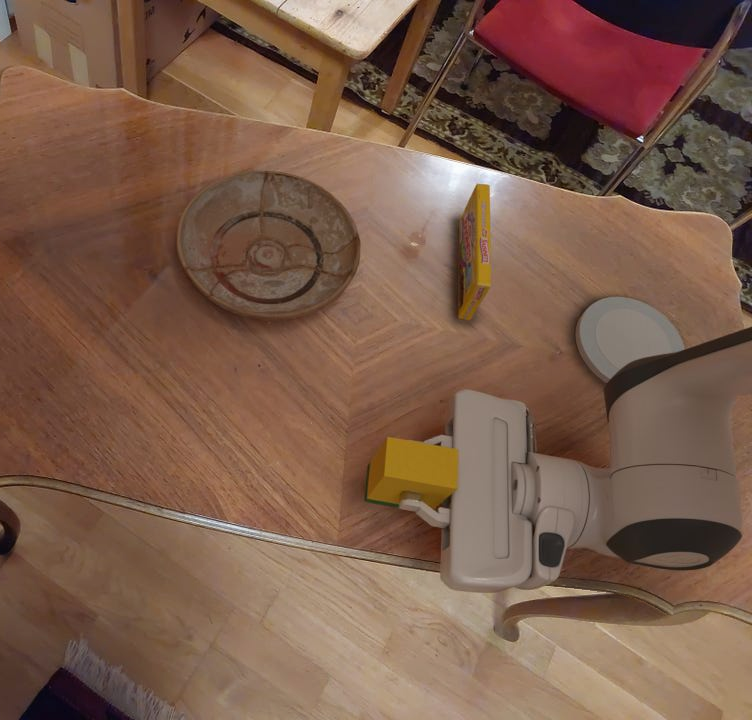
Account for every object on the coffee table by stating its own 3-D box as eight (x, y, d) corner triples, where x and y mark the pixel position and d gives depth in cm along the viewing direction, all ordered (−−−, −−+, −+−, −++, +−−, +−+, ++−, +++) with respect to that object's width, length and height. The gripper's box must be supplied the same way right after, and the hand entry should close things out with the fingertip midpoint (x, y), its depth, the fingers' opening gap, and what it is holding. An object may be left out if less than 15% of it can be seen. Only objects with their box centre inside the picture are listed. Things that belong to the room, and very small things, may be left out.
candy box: (455, 222, 93) (476, 181, 86) (470, 224, 93) (492, 184, 86) (454, 318, 86) (477, 283, 78) (471, 321, 86) (495, 286, 78)
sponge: (367, 465, 71) (386, 435, 63) (431, 476, 71) (459, 448, 63) (364, 502, 69) (383, 476, 61) (430, 513, 69) (458, 489, 61)
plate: (700, 352, 86) (706, 348, 85) (643, 416, 81) (649, 412, 80) (613, 283, 90) (618, 278, 89) (554, 340, 85) (558, 335, 84)
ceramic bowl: (326, 360, 81) (333, 341, 77) (150, 302, 83) (147, 280, 79) (372, 222, 92) (380, 198, 87) (214, 173, 94) (214, 147, 89)
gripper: (548, 392, 68) (416, 368, 68) (557, 598, 58) (403, 570, 58) (522, 415, 73) (400, 394, 73) (527, 607, 64) (387, 581, 64)
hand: (402, 473), depth 66 cm, fingers closed on sponge, 4 cm apart
